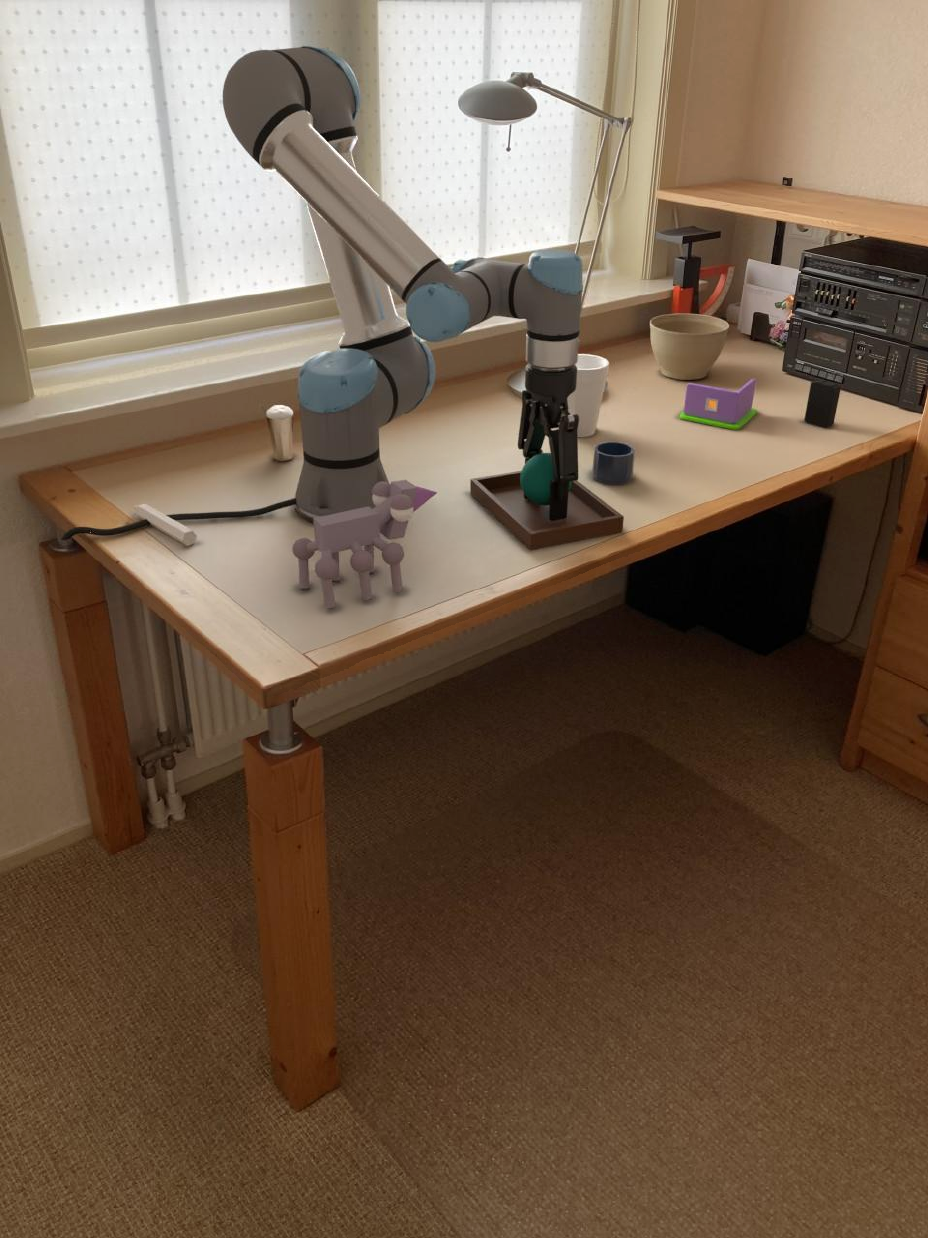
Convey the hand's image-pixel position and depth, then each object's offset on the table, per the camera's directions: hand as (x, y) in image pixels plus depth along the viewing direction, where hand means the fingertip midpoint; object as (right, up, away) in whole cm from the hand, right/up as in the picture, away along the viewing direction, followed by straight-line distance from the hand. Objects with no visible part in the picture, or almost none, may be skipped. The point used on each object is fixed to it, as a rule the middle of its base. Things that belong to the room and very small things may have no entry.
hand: (544, 507), depth 165 cm
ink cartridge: (+54, +19, +35) cm, 68 cm away
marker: (-58, -4, -5) cm, 59 cm away
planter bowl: (+34, +34, +60) cm, 77 cm away
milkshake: (-44, +10, +19) cm, 49 cm away
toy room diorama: (+36, +22, +39) cm, 57 cm away
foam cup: (+9, +17, +31) cm, 36 cm away
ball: (0, +4, -2) cm, 5 cm away
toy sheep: (-25, -13, -19) cm, 34 cm away
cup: (+12, +6, +13) cm, 19 cm away
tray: (0, -1, +1) cm, 1 cm away
